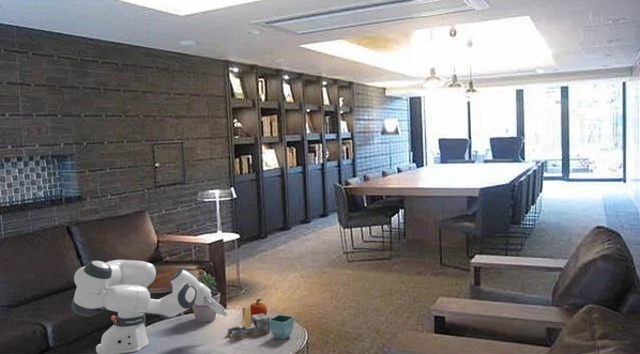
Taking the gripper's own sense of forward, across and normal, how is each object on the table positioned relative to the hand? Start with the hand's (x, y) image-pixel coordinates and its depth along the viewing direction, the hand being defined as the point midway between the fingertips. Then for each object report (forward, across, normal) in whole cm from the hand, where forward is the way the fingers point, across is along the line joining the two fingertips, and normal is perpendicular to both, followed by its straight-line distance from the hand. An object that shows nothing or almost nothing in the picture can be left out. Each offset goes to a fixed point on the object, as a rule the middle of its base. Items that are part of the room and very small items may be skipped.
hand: (222, 312), depth 259 cm
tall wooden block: (+19, -1, -3) cm, 19 cm away
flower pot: (+26, -14, -8) cm, 30 cm away
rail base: (+17, -1, 0) cm, 17 cm away
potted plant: (+10, +30, +8) cm, 33 cm away
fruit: (+27, +17, -8) cm, 33 cm away
